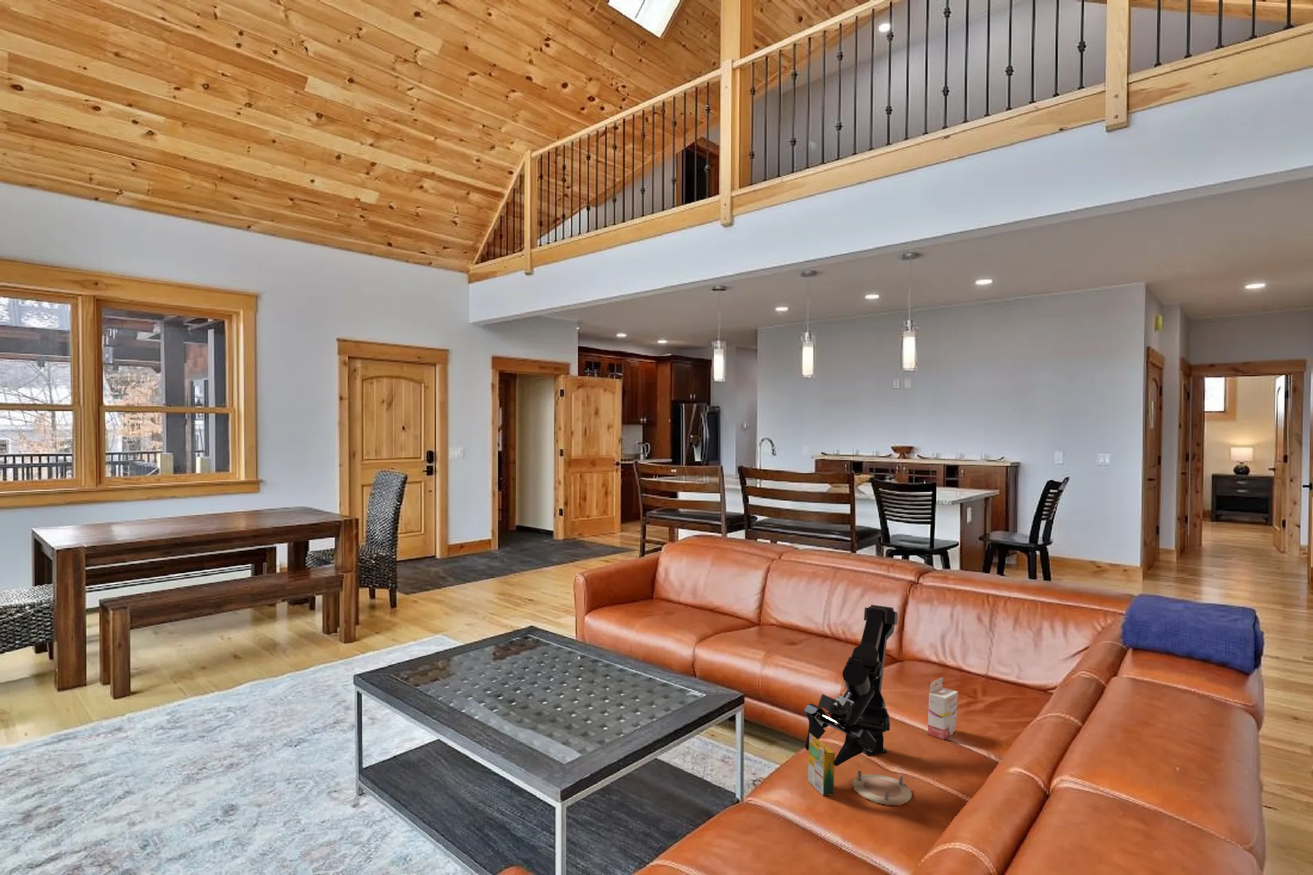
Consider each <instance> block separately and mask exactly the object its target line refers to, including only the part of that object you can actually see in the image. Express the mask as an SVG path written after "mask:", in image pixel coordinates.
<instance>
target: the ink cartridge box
mask: <svg viewBox="0 0 1313 875" xmlns="http://www.w3.org/2000/svg"><path fill="white" fill-rule="evenodd" d="M943 681H944V677H943V676H942V677H940V678H939V679H936V680H934V681H932V682H931V683H930V686H929V693H928V712H927V713H928V714H927V715H928V716H927V735H929V736H931V737H935V738H938V739H941V740H945V739H947V738H948V737H950V736H952V735H953V732H954V731H955V729H956V730H957V715H958V696H959V692H958V690H957V691H956V690H953V689H950V688H946V687H943Z"/></svg>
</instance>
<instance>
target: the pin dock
mask: <svg viewBox="0 0 1313 875" xmlns="http://www.w3.org/2000/svg"><path fill="white" fill-rule="evenodd" d="M903 778H904V777H903V774H899V775H898V779H897V778H893V777H892V776H891V777H890V776H888V775H883V774H878V773H877V774H872V773H871V774H870V773H869V774H863V775H862V771H861V770H858V771H857V777H855V779H853V783H852V787H853V786H854V788H855V790H856V791H857V792H858V793H859V794H861V795H862V796H863V797H865V798H867V799H870V800H871V801H874V802H877V803H882V804H885V805H884V806H887V805H898V804H902V803H906V802H908V801H909V800H910V799H911V800H912V794H913V793H912V790H911V788H910V787H909V786H908V785H907V784H906V783H904V782H903V780H904V779H903ZM854 788H853V789H854ZM855 790H854V791H855ZM911 800H910V801H911ZM910 801H909V802H910ZM909 802H908V803H909ZM877 803H876V804H877ZM886 804H887V805H886ZM906 804H907V803H906Z"/></svg>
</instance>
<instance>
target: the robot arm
mask: <svg viewBox="0 0 1313 875" xmlns="http://www.w3.org/2000/svg"><path fill="white" fill-rule="evenodd" d="M863 612H864V613H863V621H865V624H864V628H863V632H862V636H861V637H862V638H860V640H861V641H860V644H859V645H857V646H855V647H854V648H853V650H852V653H851V656H849V657H848V659H847V662H845V666H844V668H843V669H842V679H843V682H844V684H845V687H846V690H845V692H844V694H843V695H837V696H836V698H833V697H832V696H828V695H826V694H824V693H822V694H821V696H820V698H819V702H818V705H816V704H814V703H809V704H807V705H806V706H805V707H804V710H803V712H804V713H805V717H806V718H807V719H808V730H807V731H808V732H807V736H806V740H805V745H804V749H805V750H806V751H809V733H810V734H812V735H813V736H814V737H815V738H816V739H818V740H820V738H821V737H822V736H823V735H824V734H825V733H826V729H825V728H828V726H829V727H831V728H833V729H835V730H838V731H839V732H841V733H843V734H845V738H844V743H843V745H842V746H841V748H840V750H839V751H838V753H837V755H836V756H835V761H834V767H839V766H840V765H842V764H843V763H845V762H847V761H849V760H850V759H852V758H854V757H856V756H858V755H860V754H865V755H867V756H875V755H880V753H881V754H885V753H888V750H887V749H886V748H885V747H884V733H886V732H889V731H890V730H891V721H890V714H889V713H888V709H887V708H886V702H885V700H884V696H883V694H882V686H883V676H884V669H885V668H884V667H885V661H886V660H885V659H886V651H887V641H888V639H889V638H890V637H891V636H892V635H893V634H894V632H895V626H897V624H898V621H899V620H898V619H899V614H898V611H895V609H894V607H892V606H886V605H885V606H884V605H875V604H871V605H870V606H868V607H864V611H863ZM825 710H826V711H825ZM829 715H830V716H829Z"/></svg>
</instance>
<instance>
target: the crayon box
mask: <svg viewBox="0 0 1313 875" xmlns="http://www.w3.org/2000/svg"><path fill="white" fill-rule="evenodd" d="M835 758H836V752H835V751H834V750H832V749H831V748H830V747H828V746H827V745H826V744H825V743H824V742H822V741H821V740H820V739H816V738H815V737H814V736H813V735H812V734H810V733H809V750H808V759H807V760H808V762H807V782H808V783H809V784H810V785H812V787H814V788H815V789H816V791H818V792H819V793H820V794H821V796H823V795H825V796H827V795H826V794H832V795H834V792H835V791H834V787H835V786H834V785H835V765H834V761H835Z"/></svg>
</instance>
